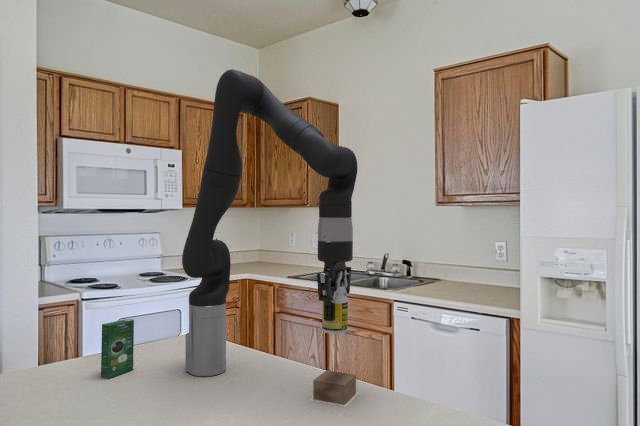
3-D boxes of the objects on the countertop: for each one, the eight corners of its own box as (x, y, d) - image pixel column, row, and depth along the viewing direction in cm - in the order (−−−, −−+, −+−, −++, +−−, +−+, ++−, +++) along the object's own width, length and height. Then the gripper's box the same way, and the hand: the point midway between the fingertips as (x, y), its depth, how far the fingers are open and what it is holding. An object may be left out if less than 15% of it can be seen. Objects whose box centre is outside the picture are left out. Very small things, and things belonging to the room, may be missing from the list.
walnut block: (313, 399, 103) (313, 380, 103) (326, 388, 110) (326, 370, 110) (344, 404, 101) (344, 385, 101) (355, 393, 107) (355, 374, 107)
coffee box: (126, 368, 127) (126, 317, 127) (134, 369, 125) (134, 318, 125) (100, 377, 119) (100, 323, 119) (108, 379, 118) (108, 325, 118)
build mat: (292, 402, 105) (292, 396, 105) (316, 383, 116) (316, 379, 116) (346, 411, 100) (346, 406, 100) (365, 391, 111) (365, 386, 111)
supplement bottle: (345, 335, 102) (345, 288, 102) (320, 333, 103) (320, 287, 103) (349, 329, 107) (349, 284, 107) (324, 327, 108) (325, 283, 108)
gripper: (331, 236, 113) (331, 310, 113) (304, 240, 100) (304, 323, 100) (362, 237, 110) (362, 312, 110) (339, 241, 97) (338, 326, 97)
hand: (334, 317), depth 105 cm, fingers closed on supplement bottle, 5 cm apart
